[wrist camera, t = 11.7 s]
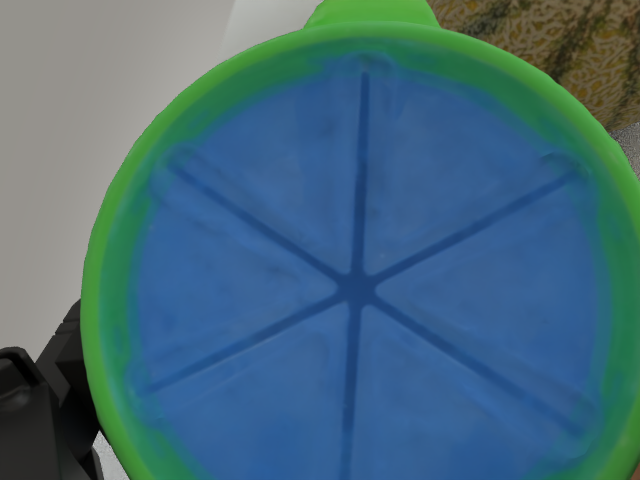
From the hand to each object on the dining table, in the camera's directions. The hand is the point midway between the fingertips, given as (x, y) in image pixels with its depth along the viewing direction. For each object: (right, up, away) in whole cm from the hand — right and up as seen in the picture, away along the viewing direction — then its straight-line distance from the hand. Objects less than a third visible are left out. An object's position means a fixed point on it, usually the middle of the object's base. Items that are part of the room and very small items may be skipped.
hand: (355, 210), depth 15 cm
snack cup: (+1, -4, +4) cm, 5 cm away
